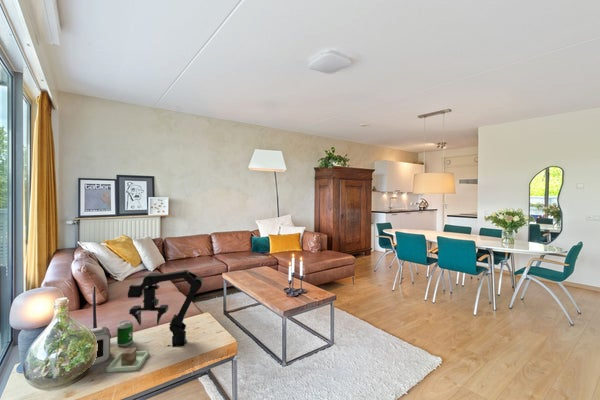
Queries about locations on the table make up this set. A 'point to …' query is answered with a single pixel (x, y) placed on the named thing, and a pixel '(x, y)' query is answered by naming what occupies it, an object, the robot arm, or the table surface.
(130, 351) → the walnut block
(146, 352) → the tray
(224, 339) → the table surface
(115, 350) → the table surface
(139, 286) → the robot arm
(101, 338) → the alarm clock
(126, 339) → the soda can
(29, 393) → the table surface
